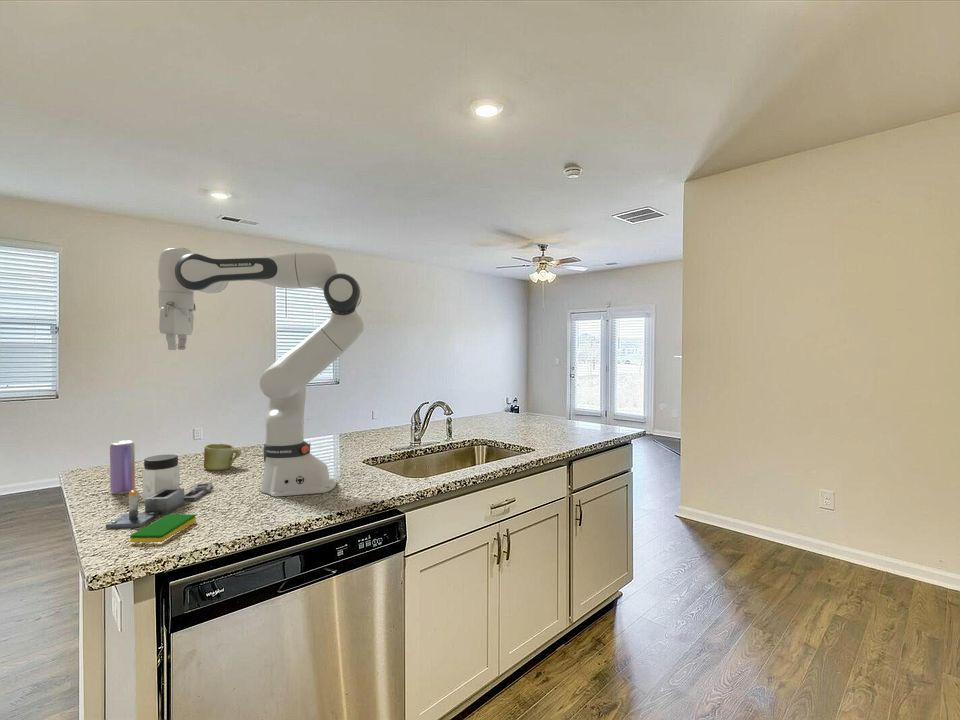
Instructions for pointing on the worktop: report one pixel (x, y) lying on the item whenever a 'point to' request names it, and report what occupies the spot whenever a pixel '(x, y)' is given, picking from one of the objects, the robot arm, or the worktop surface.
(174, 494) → the link
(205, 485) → the chain tail
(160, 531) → the dish sponge
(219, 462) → the mug
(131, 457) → the beverage can
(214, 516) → the worktop surface
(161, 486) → the jar
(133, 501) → the keeper
